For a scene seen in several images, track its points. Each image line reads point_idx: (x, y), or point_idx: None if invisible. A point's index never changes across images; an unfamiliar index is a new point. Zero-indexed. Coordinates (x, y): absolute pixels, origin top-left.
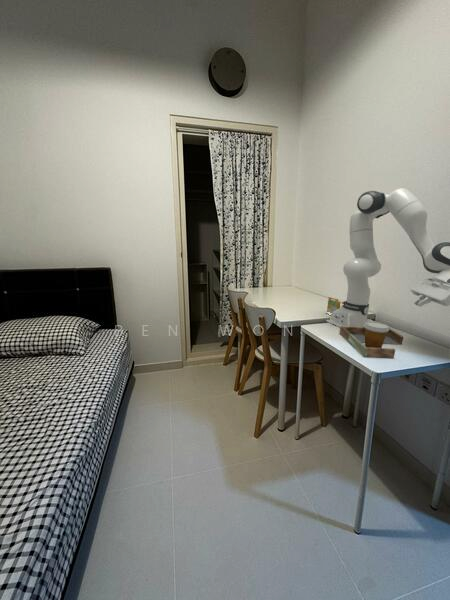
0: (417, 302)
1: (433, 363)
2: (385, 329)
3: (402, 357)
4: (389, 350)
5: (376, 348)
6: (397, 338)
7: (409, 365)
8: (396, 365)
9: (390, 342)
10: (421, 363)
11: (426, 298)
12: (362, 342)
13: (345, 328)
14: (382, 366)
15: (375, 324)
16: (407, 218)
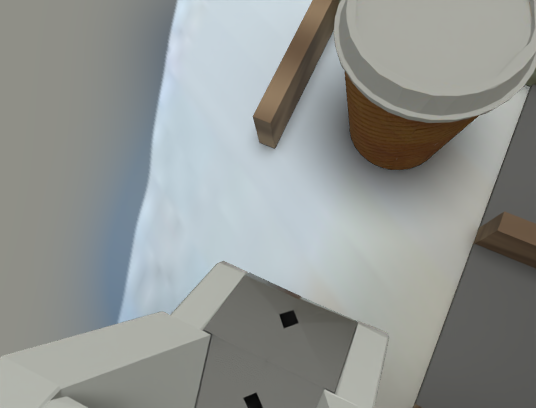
0: (280, 303)
1: (126, 312)
2: (341, 19)
3: (250, 207)
4: (269, 89)
5: (307, 22)
6: None
7: (170, 149)
8: (198, 85)
9: (460, 360)
10: (157, 239)
11: (20, 397)
12: (508, 149)
13: None
14: (218, 13)
15: (469, 26)
16: None
